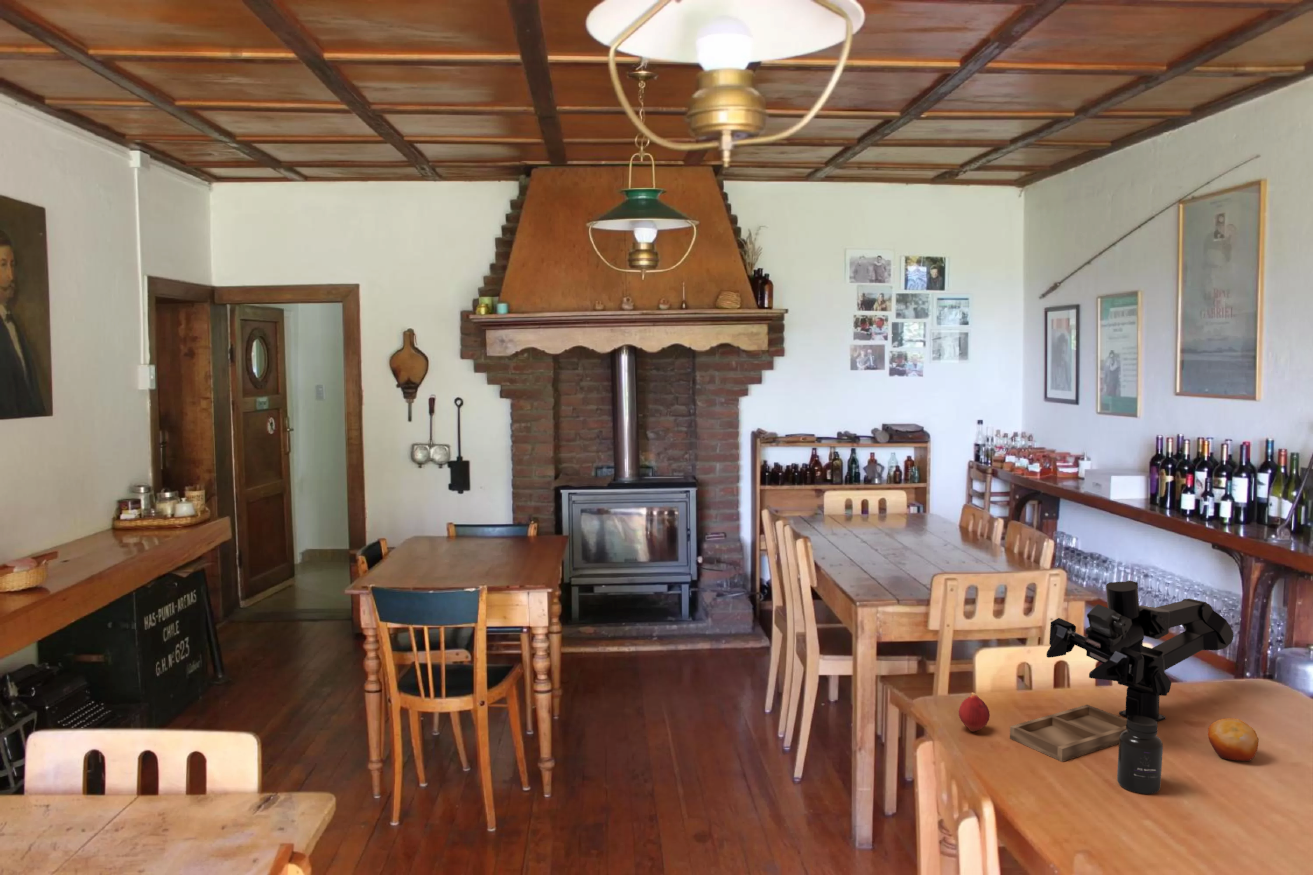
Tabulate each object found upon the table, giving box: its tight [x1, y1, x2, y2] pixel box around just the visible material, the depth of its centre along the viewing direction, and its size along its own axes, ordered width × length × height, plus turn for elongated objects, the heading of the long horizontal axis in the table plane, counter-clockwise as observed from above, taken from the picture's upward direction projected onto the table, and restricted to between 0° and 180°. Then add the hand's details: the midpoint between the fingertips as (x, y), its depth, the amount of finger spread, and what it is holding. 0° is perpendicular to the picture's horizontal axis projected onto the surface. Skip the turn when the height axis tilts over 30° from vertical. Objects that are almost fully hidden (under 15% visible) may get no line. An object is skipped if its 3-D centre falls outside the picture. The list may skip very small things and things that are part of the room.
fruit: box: [1207, 717, 1260, 762], centre depth 173 cm, size 8×8×8 cm
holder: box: [1009, 704, 1127, 763], centre depth 182 cm, size 23×12×2 cm, turn 118°
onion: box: [958, 692, 991, 732], centre depth 185 cm, size 6×6×8 cm
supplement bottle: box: [1116, 715, 1164, 795], centre depth 161 cm, size 7×7×12 cm
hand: (1068, 664), depth 178 cm, fingers open, 9 cm apart
